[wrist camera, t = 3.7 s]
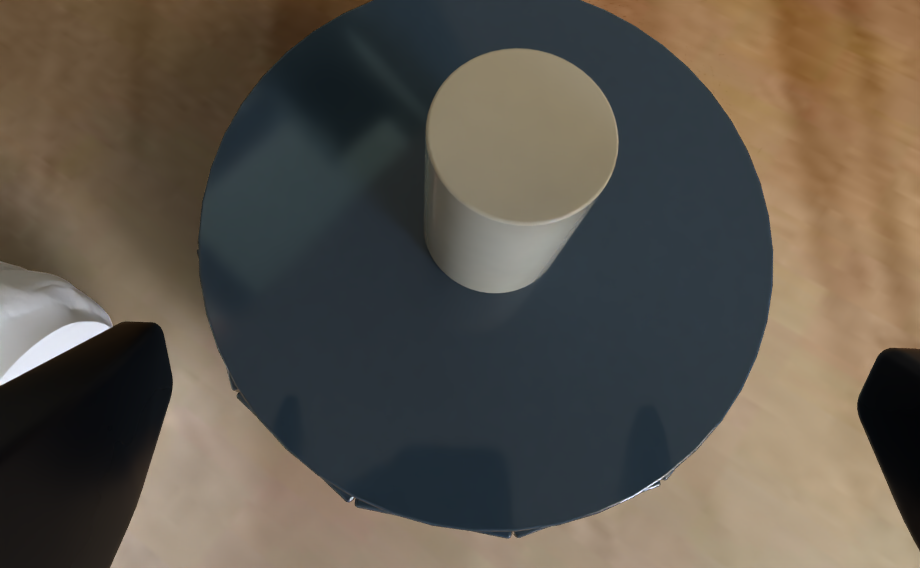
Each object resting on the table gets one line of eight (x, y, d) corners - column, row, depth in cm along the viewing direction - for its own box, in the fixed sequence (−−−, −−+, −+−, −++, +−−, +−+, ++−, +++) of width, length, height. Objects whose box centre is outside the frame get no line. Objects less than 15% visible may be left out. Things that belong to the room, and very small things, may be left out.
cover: (490, 604, 17) (586, 796, 7) (179, 310, 19) (-84, 150, 9) (742, 284, 20) (1056, 117, 10) (453, 48, 21) (483, -298, 12)
